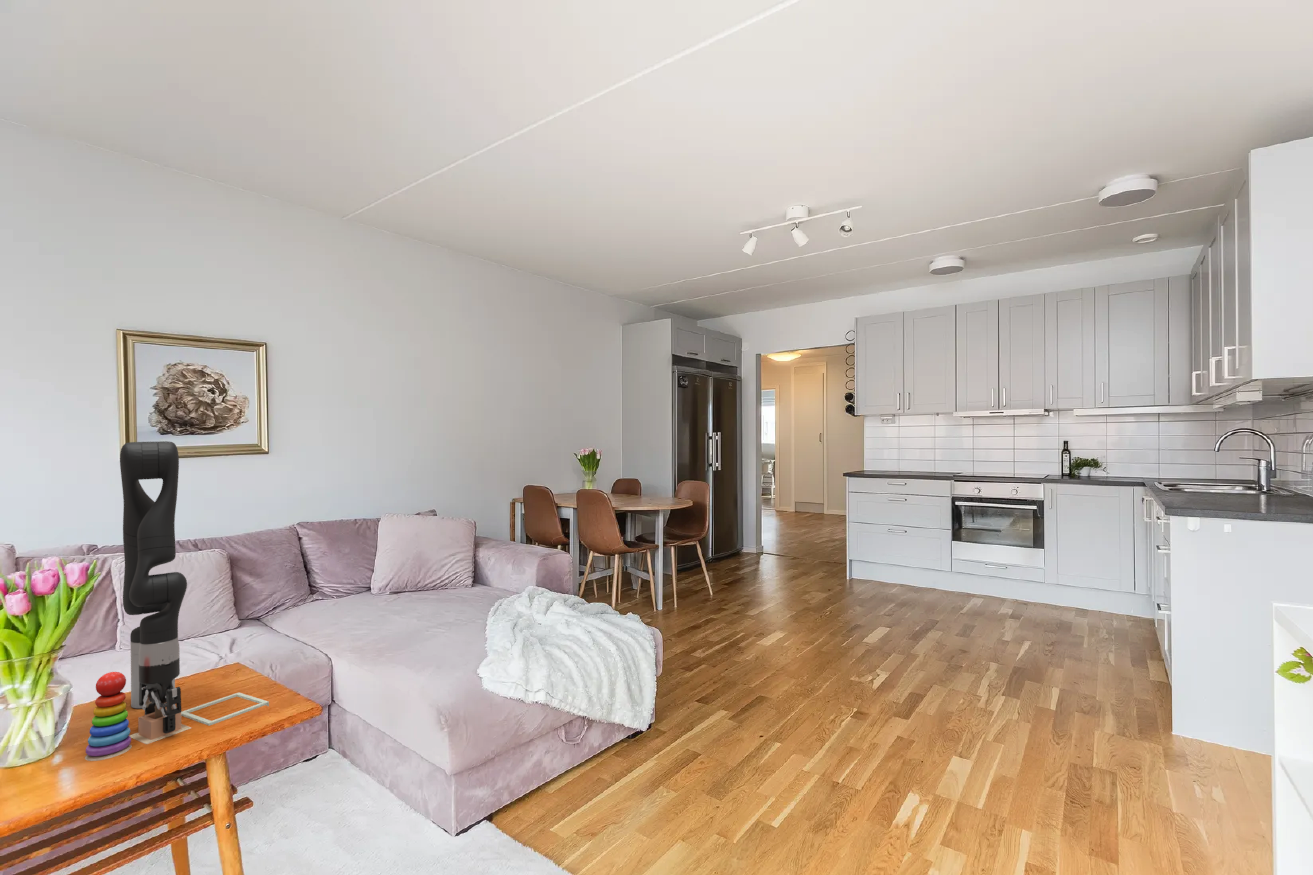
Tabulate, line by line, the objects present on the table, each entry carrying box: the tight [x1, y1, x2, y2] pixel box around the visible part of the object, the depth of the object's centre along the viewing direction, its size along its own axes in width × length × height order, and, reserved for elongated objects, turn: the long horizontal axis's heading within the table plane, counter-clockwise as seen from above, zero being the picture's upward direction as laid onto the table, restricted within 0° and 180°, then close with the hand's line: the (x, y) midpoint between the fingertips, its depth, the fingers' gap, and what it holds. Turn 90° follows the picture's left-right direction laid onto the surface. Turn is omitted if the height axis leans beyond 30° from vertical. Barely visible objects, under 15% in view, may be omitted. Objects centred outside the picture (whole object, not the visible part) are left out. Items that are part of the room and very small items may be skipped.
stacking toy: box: [84, 671, 132, 762], centre depth 136 cm, size 8×8×19 cm
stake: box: [129, 704, 192, 745], centre depth 146 cm, size 9×9×8 cm
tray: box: [181, 692, 270, 726], centre depth 158 cm, size 14×14×2 cm
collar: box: [137, 708, 182, 740], centre depth 146 cm, size 6×7×4 cm
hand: (160, 728), depth 146 cm, fingers open, 8 cm apart
